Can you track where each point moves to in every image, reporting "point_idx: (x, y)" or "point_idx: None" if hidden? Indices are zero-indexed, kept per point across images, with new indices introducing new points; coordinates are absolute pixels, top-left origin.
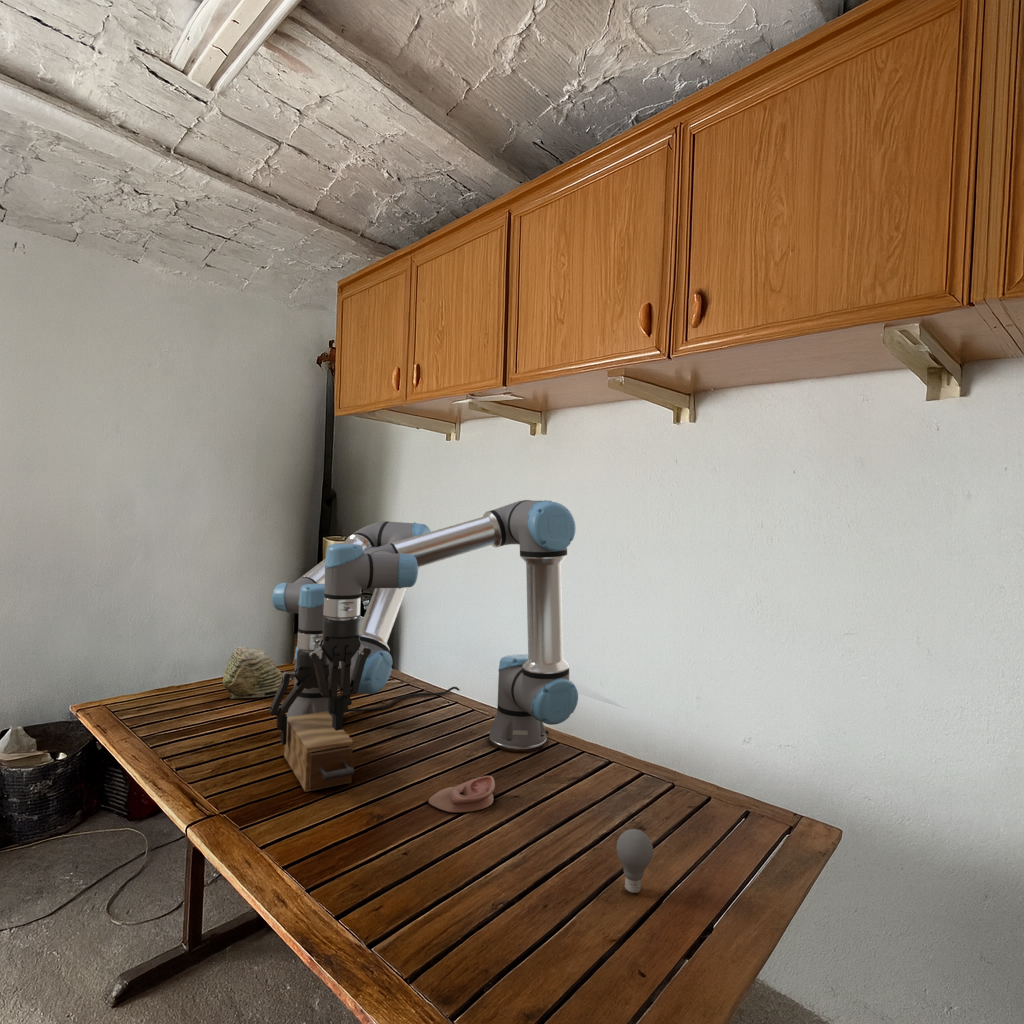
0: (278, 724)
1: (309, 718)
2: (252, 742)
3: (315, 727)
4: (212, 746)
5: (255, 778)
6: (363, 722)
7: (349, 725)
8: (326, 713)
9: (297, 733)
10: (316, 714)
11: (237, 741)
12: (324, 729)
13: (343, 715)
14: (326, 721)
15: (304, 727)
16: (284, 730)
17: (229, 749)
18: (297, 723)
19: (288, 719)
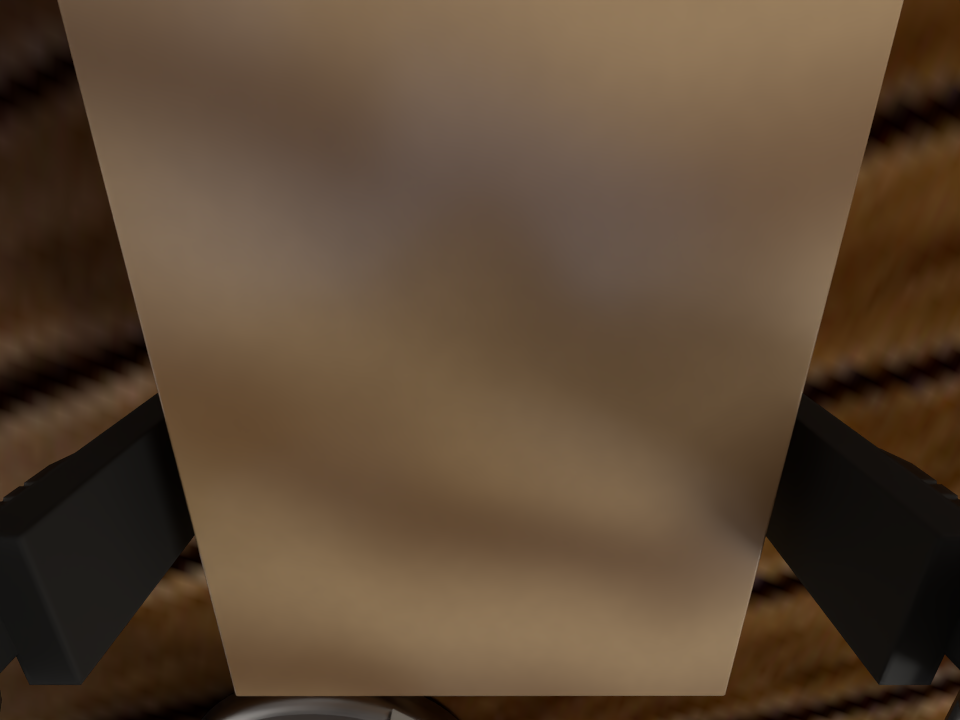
0: (949, 494)
1: (483, 568)
2: None
3: (501, 191)
4: (885, 689)
5: (905, 173)
6: (73, 702)
7: (157, 692)
8: (245, 643)
9: (884, 13)
10: (369, 653)
11: (758, 701)
12: (375, 4)
13: (9, 494)
14: (282, 382)
15: (660, 269)
16: (824, 420)
17: (834, 632)
18: (686, 464)
19: (727, 623)
